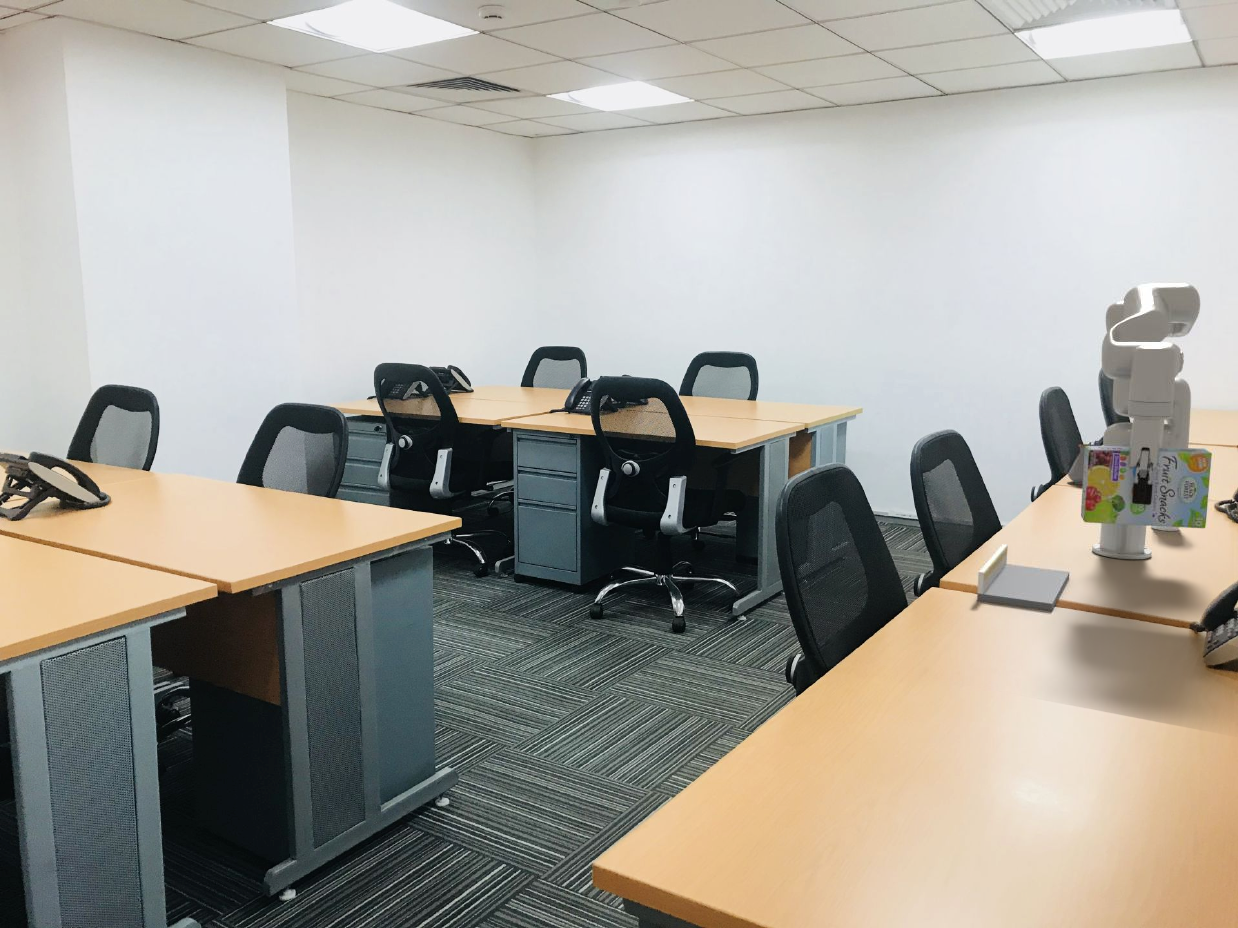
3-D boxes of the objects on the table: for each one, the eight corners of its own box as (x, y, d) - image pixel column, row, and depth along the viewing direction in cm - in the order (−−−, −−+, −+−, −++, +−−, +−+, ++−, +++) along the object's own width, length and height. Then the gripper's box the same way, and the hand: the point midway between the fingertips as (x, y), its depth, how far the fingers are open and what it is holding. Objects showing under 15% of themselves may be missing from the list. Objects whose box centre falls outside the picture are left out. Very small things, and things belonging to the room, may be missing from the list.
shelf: (1001, 569, 214) (1002, 544, 213) (1069, 578, 207) (1070, 551, 206) (976, 600, 192) (978, 571, 191) (1051, 611, 185) (1053, 581, 184)
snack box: (1198, 522, 186) (1205, 447, 183) (1205, 529, 180) (1213, 452, 178) (1079, 516, 193) (1085, 443, 190) (1083, 523, 187) (1088, 448, 185)
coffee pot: (1064, 484, 313) (1067, 440, 311) (1070, 479, 323) (1073, 435, 320) (1137, 490, 301) (1141, 444, 299) (1141, 485, 311) (1144, 440, 308)
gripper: (1131, 404, 192) (1124, 490, 195) (1124, 414, 177) (1117, 507, 180) (1174, 405, 188) (1166, 493, 191) (1170, 416, 173) (1162, 511, 176)
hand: (1142, 499), depth 186 cm, fingers closed on snack box, 6 cm apart
